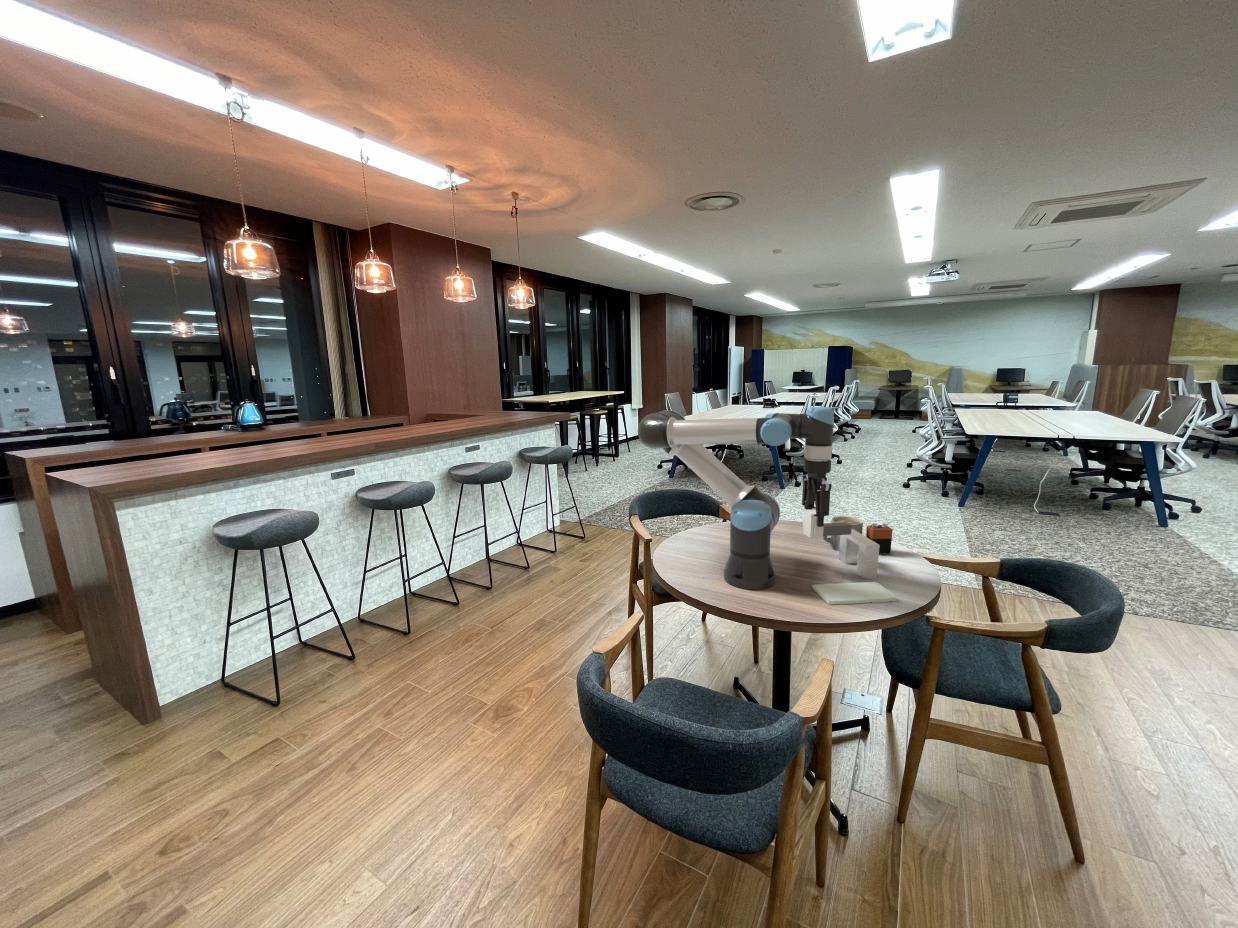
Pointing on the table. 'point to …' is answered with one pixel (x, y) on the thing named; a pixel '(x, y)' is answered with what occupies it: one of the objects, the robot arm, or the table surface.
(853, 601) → the mat
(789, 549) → the table surface
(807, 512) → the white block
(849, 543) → the grey arch block
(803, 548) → the table surface
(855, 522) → the coffee mug
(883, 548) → the battery
